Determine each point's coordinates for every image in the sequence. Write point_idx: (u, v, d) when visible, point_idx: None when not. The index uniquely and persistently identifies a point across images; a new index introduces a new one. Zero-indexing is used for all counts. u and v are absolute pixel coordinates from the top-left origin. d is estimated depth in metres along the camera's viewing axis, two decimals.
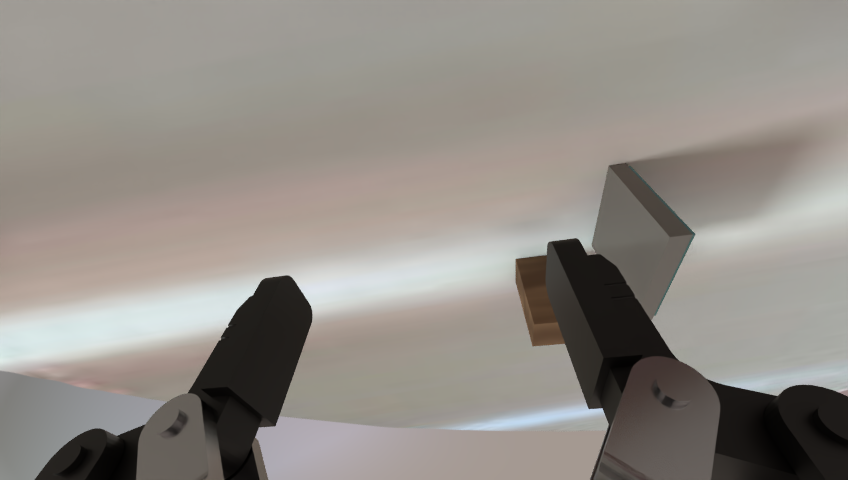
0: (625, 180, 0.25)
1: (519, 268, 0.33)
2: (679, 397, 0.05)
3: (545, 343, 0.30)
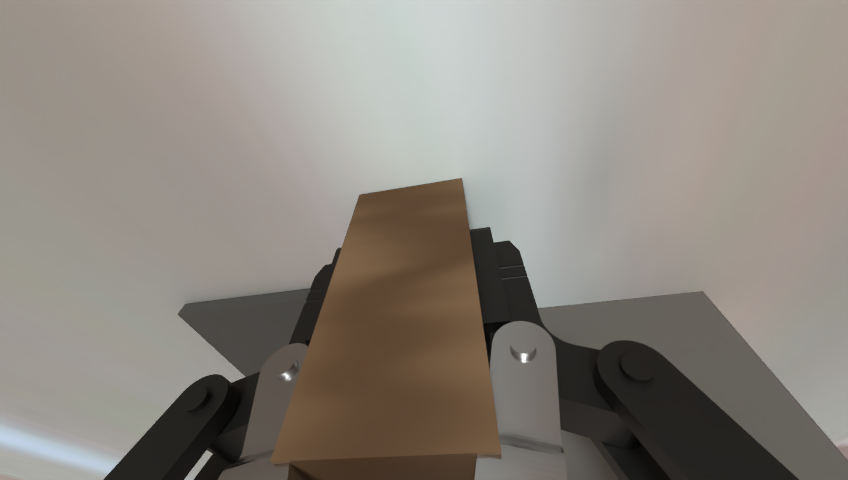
0: (740, 343, 0.12)
1: None
2: (524, 351, 0.06)
3: None
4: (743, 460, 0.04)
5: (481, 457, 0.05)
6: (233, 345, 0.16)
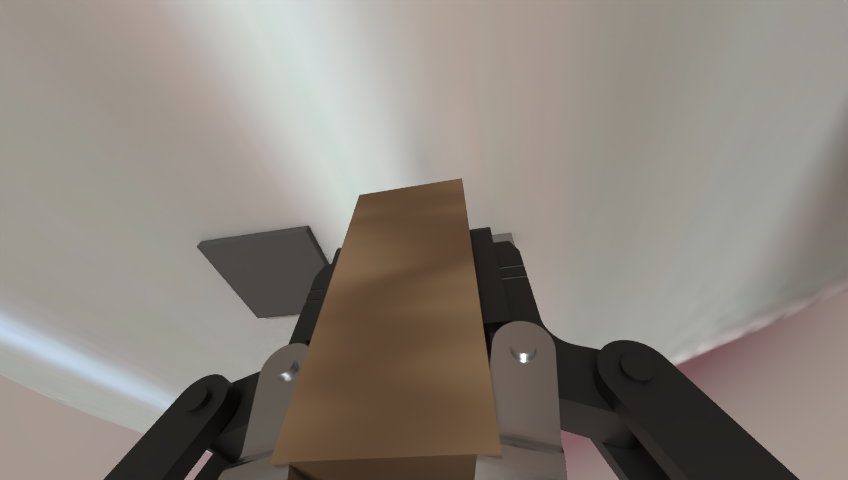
0: None
1: None
2: (524, 351, 0.06)
3: None
4: (742, 459, 0.04)
5: (481, 457, 0.05)
6: (230, 270, 0.26)
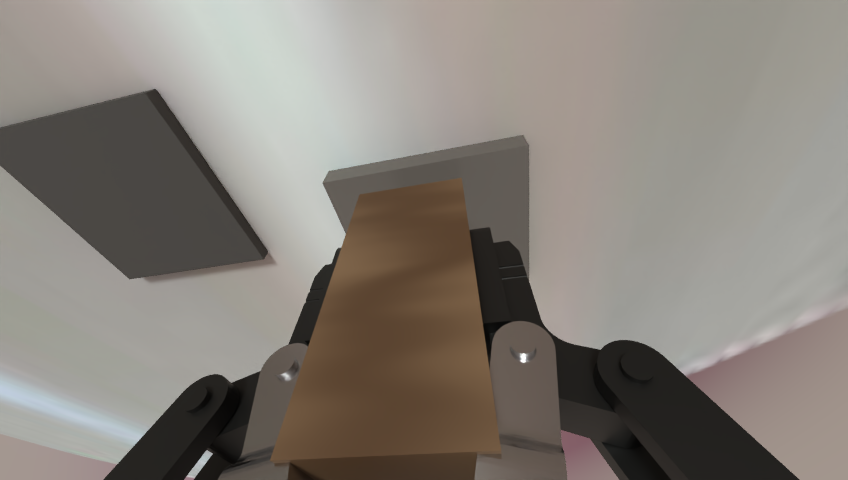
0: (527, 192, 0.15)
1: None
2: (524, 351, 0.06)
3: None
4: (742, 459, 0.04)
5: (481, 457, 0.05)
6: (49, 188, 0.15)
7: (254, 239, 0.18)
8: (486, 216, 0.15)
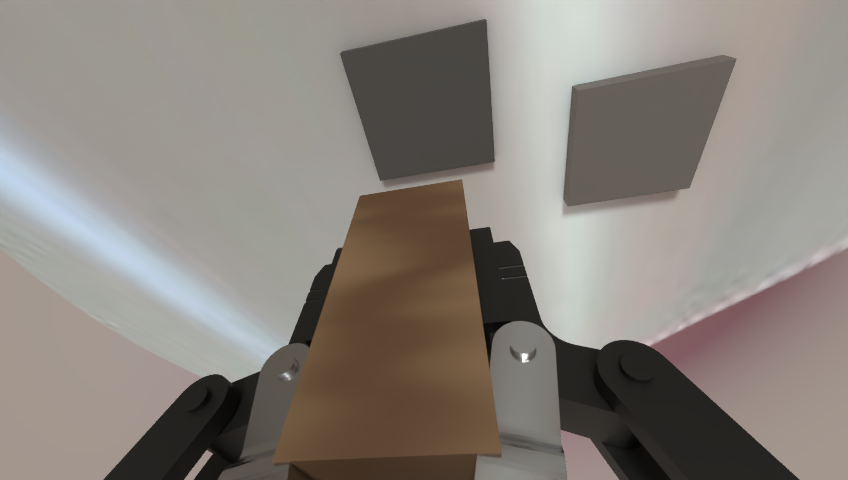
0: (718, 99, 0.21)
1: (465, 204, 0.10)
2: (524, 351, 0.06)
3: None
4: (742, 460, 0.04)
5: (481, 457, 0.05)
6: (370, 96, 0.21)
7: None
8: (684, 118, 0.21)
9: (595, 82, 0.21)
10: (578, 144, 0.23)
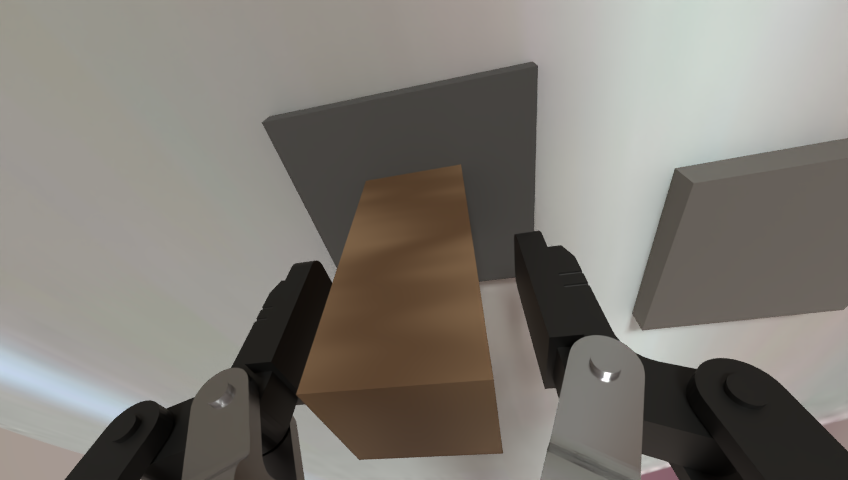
0: None
1: None
2: (609, 370, 0.06)
3: (332, 419, 0.07)
4: None
5: (548, 470, 0.04)
6: (325, 188, 0.12)
7: None
8: None
9: (720, 164, 0.12)
10: (676, 257, 0.14)
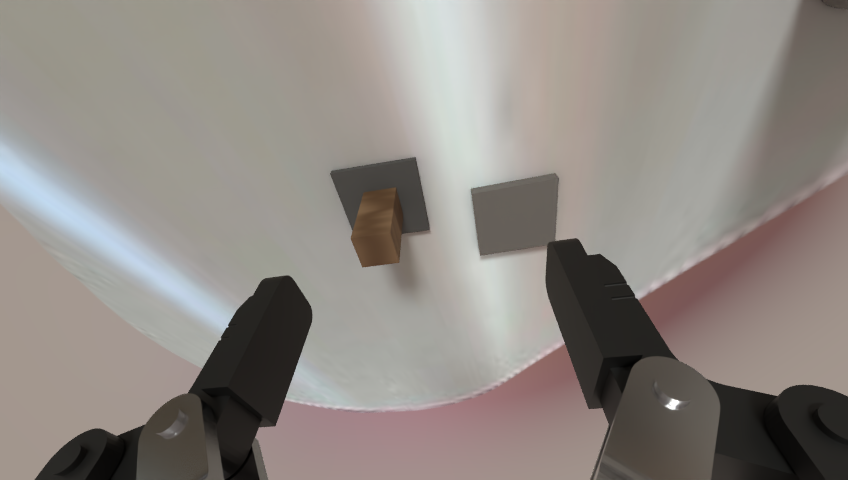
0: (556, 196, 0.35)
1: (395, 194, 0.33)
2: (679, 397, 0.05)
3: (357, 247, 0.29)
4: None
5: None
6: (349, 195, 0.35)
7: (427, 220, 0.37)
8: (538, 207, 0.35)
9: (483, 187, 0.35)
10: (479, 221, 0.36)
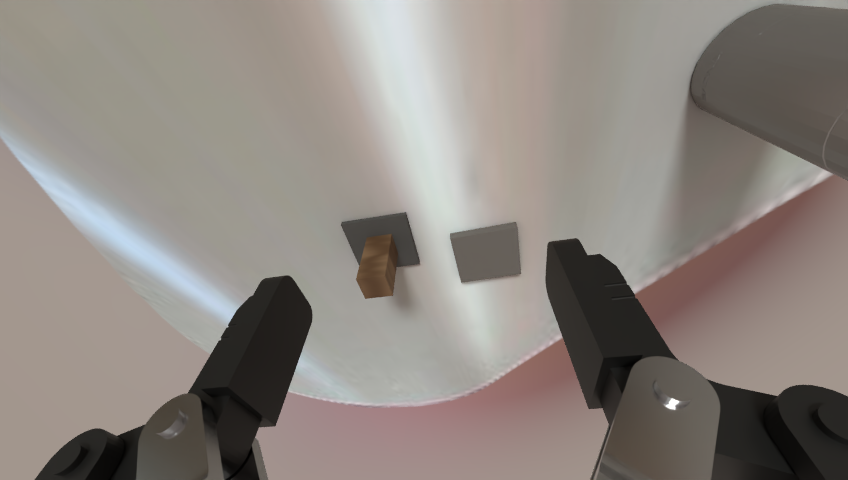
0: None
1: (390, 240, 0.43)
2: (679, 397, 0.05)
3: (361, 285, 0.39)
4: None
5: None
6: (355, 239, 0.45)
7: (417, 256, 0.47)
8: (504, 247, 0.45)
9: (459, 233, 0.44)
10: (457, 257, 0.46)
